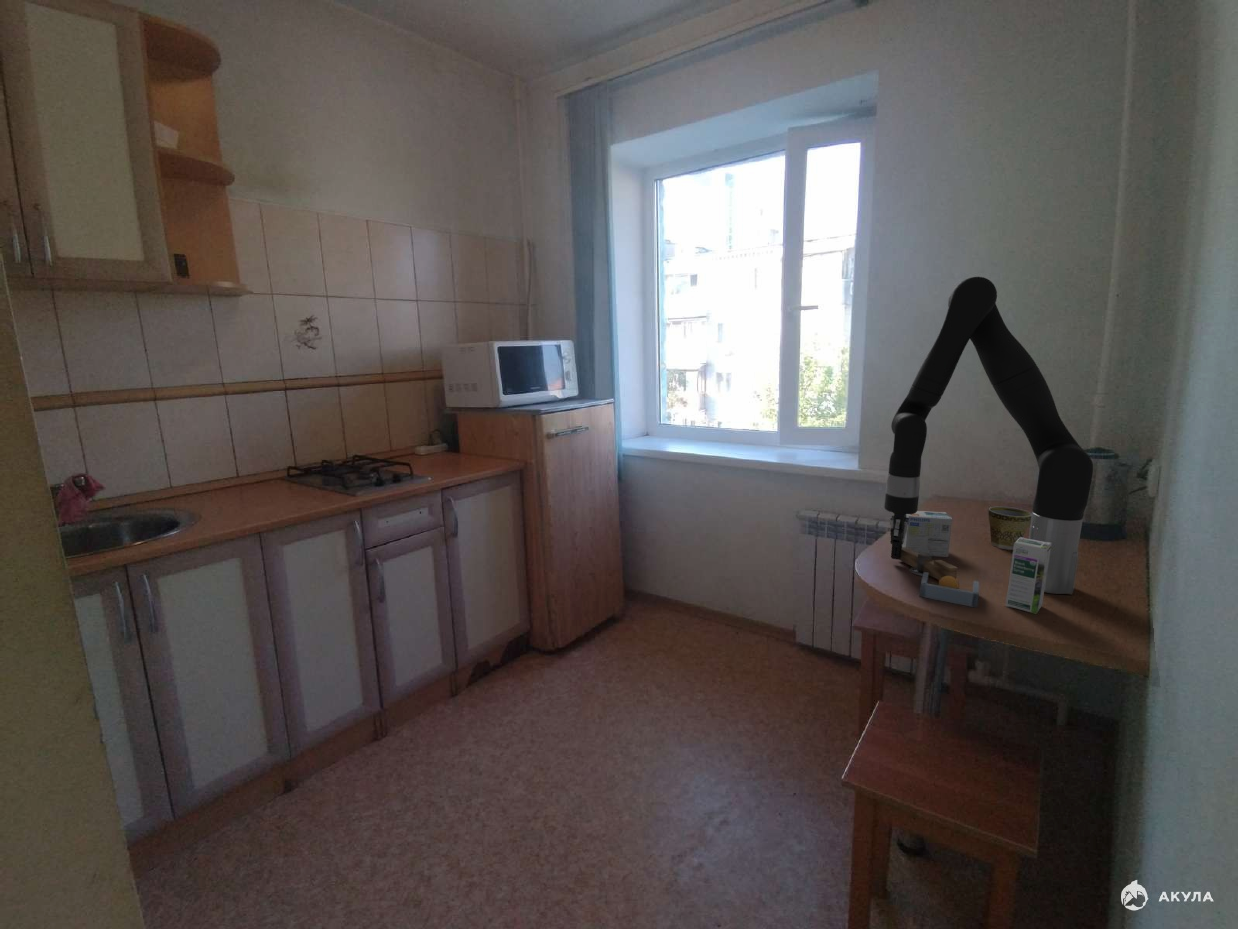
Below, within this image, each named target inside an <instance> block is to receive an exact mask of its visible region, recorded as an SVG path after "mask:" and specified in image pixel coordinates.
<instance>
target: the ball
mask: <svg viewBox="0 0 1238 929" xmlns="http://www.w3.org/2000/svg"><path fill="white" fill-rule="evenodd" d="M938 586H944V587H949V588H955V589H959V588H960V583H959V581H958V580H957V578H956V579H955V578H954V577H952V576H944V577H942V578H941V579H940V580H938Z"/></svg>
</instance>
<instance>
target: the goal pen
mask: <svg viewBox="0 0 1238 929" xmlns="http://www.w3.org/2000/svg"><path fill="white" fill-rule="evenodd" d="M928 574H929V573H927V572H924V573H923V576H921V580H920V586H919V587H920V589H919V597H921V598H925V599H926V598H927V599H929V600H936V601H940V602H944V603H952V604H955V605H961V606H967V607H972V608H976V609H977V608H978V604H979V596H980V581H977V580H973V584H972V591H970V590H965V589H955V588H949V587H944V586H939V584H938V585H936V584H932V583H928V581H929V577H928Z"/></svg>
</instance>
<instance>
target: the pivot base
mask: <svg viewBox="0 0 1238 929" xmlns="http://www.w3.org/2000/svg"><path fill="white" fill-rule="evenodd" d="M909 572H910V573H911V574H913V575H915V576H918V575H919V576H920V577H923V573H924V572H921V571H918V570H917V569H916V568H914V567H912V566H911V567H909ZM928 578H933V577H932V576H930V575H928Z"/></svg>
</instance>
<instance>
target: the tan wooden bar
mask: <svg viewBox="0 0 1238 929" xmlns="http://www.w3.org/2000/svg"><path fill="white" fill-rule="evenodd" d="M932 557H933V556H931V555H929V554H926V553H919V554H918V553H916V552H914V551H912V550H910V549H908V548H906V547H902V553H901V558H900V559H899V560H898V561H901V562H902V563H904V564H906V565H909V566H911V567H914V568H916V569H917V570H918V571H921V572H927V573H929V574H928V575H930V576H932V577H931V578H934V579H936V580H938V581H939V580H940V579H941V578H942V577H944V576H952V577H954V578H955V579H956V580H957V578H958V577H957V576H958V569H959V568H958V567H957V566H955V565H954V564H953V565H952V564H951V563H948V562H947V561H944V560H942V559H936V560H933V559H932Z"/></svg>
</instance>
